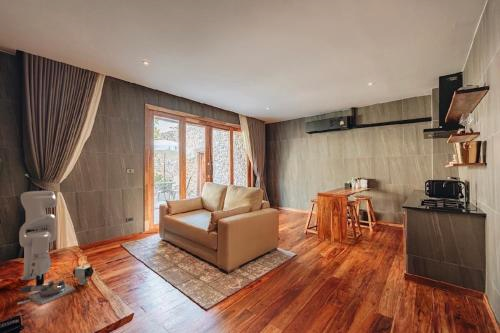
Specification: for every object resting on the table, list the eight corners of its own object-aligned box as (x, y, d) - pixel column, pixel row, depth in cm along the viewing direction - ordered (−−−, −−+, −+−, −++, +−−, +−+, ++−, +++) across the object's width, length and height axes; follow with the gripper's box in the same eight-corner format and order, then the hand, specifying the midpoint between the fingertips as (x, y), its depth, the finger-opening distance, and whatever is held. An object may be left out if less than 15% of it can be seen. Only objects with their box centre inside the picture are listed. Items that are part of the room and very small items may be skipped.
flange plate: (14, 303, 121) (14, 300, 121) (62, 284, 140) (62, 282, 141) (26, 310, 114) (26, 308, 114) (75, 290, 133) (75, 287, 133)
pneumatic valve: (87, 286, 138) (87, 267, 138) (72, 284, 140) (72, 266, 141) (94, 282, 143) (95, 264, 144) (80, 280, 146) (80, 262, 146)
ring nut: (13, 298, 122) (13, 291, 122) (29, 288, 133) (29, 281, 133) (56, 294, 125) (56, 287, 125) (69, 285, 136) (69, 278, 136)
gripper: (36, 259, 127) (36, 290, 127) (56, 250, 142) (55, 278, 141) (22, 260, 126) (21, 291, 126) (43, 250, 141) (43, 279, 141)
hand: (39, 284), depth 134 cm, fingers closed
